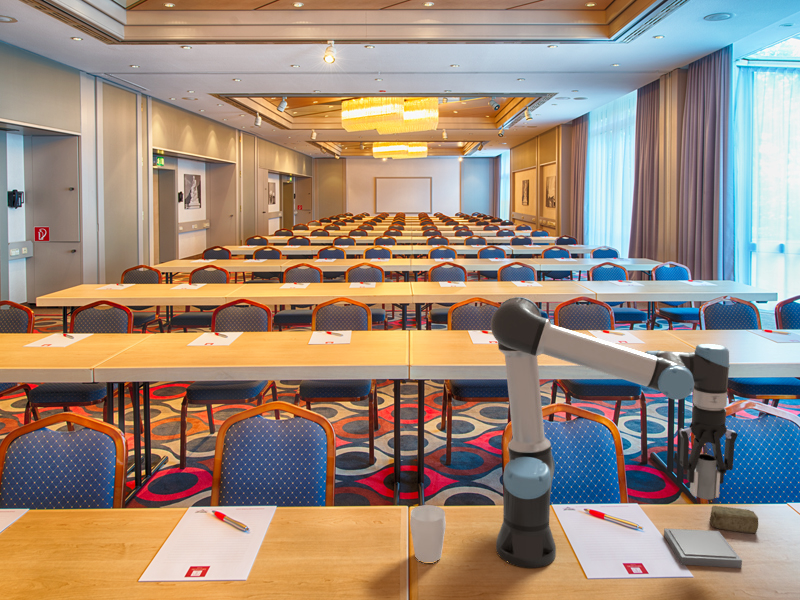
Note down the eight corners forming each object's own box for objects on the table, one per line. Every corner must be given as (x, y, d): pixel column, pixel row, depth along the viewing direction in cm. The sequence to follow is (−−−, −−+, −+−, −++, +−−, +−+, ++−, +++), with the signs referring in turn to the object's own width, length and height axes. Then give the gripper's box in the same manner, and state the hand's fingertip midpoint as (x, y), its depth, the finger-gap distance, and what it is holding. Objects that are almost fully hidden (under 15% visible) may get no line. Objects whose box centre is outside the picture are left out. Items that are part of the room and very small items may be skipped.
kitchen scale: (681, 564, 148) (682, 556, 148) (663, 535, 162) (664, 527, 162) (741, 567, 146) (742, 559, 146) (718, 538, 160) (718, 529, 160)
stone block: (759, 535, 162) (760, 518, 161) (712, 530, 165) (713, 513, 164) (753, 525, 167) (754, 508, 166) (707, 520, 170) (708, 503, 170)
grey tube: (691, 491, 154) (693, 453, 153) (709, 491, 154) (711, 453, 153) (699, 499, 150) (701, 460, 149) (717, 499, 150) (720, 460, 148)
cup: (450, 552, 155) (450, 508, 153) (438, 570, 147) (438, 524, 145) (418, 544, 159) (418, 502, 157) (404, 562, 151) (404, 517, 149)
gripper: (677, 410, 146) (673, 499, 149) (753, 411, 144) (747, 503, 147) (667, 400, 154) (663, 486, 157) (740, 402, 152) (734, 489, 155)
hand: (704, 494), depth 152 cm, fingers closed on grey tube, 4 cm apart
